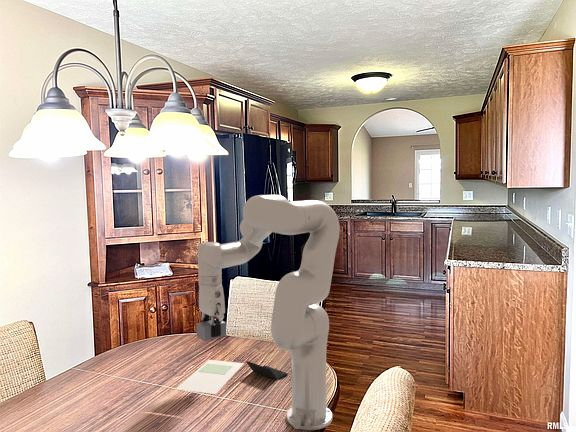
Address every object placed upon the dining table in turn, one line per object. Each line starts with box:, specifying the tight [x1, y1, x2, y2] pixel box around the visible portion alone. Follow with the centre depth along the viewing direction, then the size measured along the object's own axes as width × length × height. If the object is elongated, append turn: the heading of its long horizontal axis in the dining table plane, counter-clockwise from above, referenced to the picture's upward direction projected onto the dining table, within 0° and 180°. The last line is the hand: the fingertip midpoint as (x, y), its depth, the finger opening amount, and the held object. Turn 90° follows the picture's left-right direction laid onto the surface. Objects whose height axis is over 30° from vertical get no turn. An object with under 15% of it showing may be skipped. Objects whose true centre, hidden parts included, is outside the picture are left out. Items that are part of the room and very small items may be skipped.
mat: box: [175, 359, 245, 395], centre depth 147 cm, size 24×14×1 cm, turn 164°
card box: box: [195, 318, 227, 342], centre depth 143 cm, size 8×6×4 cm
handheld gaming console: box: [245, 360, 288, 381], centre depth 146 cm, size 12×7×10 cm
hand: (211, 333), depth 143 cm, fingers closed on card box, 5 cm apart
